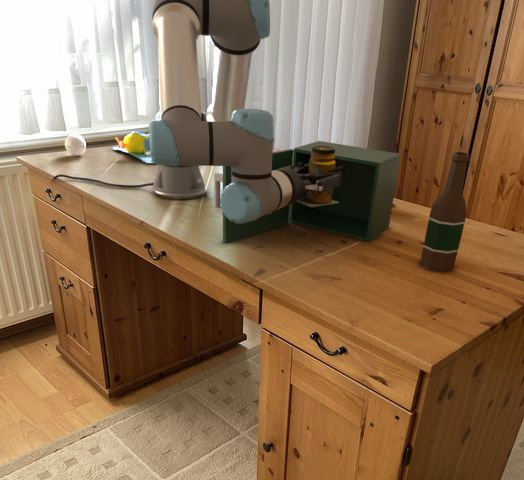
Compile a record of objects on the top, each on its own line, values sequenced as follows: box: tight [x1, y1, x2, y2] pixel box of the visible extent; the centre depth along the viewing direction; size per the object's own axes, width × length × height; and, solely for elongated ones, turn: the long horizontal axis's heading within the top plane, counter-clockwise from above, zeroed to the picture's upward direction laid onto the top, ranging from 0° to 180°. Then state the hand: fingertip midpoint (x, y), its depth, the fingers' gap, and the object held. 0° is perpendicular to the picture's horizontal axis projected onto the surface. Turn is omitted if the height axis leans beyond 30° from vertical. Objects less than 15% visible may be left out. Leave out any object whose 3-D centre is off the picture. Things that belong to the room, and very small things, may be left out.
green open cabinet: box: [289, 140, 402, 242], centre depth 137 cm, size 13×23×19 cm, turn 57°
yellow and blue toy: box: [112, 130, 156, 165], centre depth 199 cm, size 28×9×15 cm
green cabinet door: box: [213, 148, 294, 244], centre depth 131 cm, size 6×23×18 cm, turn 137°
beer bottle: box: [419, 151, 470, 273], centre depth 114 cm, size 8×8×24 cm
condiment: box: [297, 146, 339, 207], centre depth 124 cm, size 7×8×12 cm
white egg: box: [64, 133, 87, 157], centre depth 194 cm, size 10×7×7 cm
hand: (329, 169), depth 127 cm, fingers closed on condiment, 6 cm apart
